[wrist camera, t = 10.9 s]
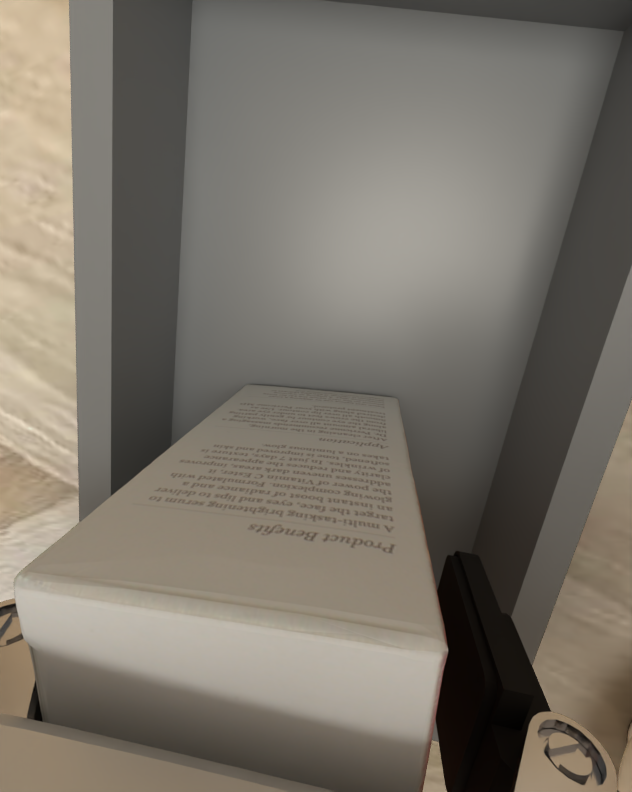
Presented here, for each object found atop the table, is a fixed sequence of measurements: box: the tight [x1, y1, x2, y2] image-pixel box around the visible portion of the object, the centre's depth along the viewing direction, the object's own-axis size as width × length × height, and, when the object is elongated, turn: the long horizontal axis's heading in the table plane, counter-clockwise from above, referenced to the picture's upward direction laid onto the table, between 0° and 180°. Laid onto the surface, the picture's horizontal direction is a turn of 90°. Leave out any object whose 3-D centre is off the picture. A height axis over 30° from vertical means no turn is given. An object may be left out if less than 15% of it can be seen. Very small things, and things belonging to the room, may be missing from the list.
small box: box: [14, 384, 448, 792], centre depth 11 cm, size 8×6×10 cm
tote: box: [69, 0, 632, 742], centre depth 13 cm, size 14×22×5 cm, turn 172°
